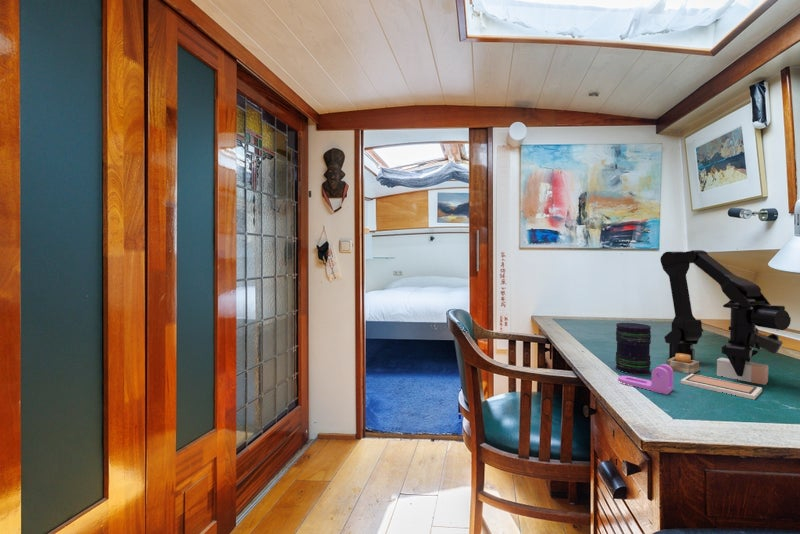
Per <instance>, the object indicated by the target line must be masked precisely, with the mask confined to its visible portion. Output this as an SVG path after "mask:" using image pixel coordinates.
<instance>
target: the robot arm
mask: <svg viewBox="0 0 800 534" xmlns="http://www.w3.org/2000/svg"><path fill="white" fill-rule="evenodd" d="M660 263H661V267H662V270H663V271H664V272H665V274H667V277H668V278H669V284H670V285H669V286H670V291H671V296H672V297H671V299H672V302H673V303H672V304H673V310H674V318H673V320H672V322H671V331H669V332H668V333H667V334H665V336H664V342H665V343H666V344H668V345H669V348H668V349H669V351H668V355H669V356H668V358H667V359H666V361H667V360H669V359H671V358H673V357H675V355H676V353H682V354H688V355H690V356H691V360H694V361H696V360H695V359H696V356H695V355H696V349H695V348H694V345H697V344H698V343H699V339H701V338H702V336H703V332H704V329H703V325H702V320H701V319H697V318H695V317H694V315H693V310H692V303H691V297H690V292H689V285H688V281H687V274H688V271H689V269H690V265H691V264H694V265H695V266H697V267H698V268H699V269H700V270H701V271H702V272H704V273H705V274H707V275H708V276H709V277H710V278H711V279H712V280H713V281H715V282H716V283H717V284H718V285H720V289H721V291H722V293H724V295H725V296H726V297H727V298H728V299H729V301H728V302H726V303H724V304H723V305H722V307H723V308H728V309H730V322H729V323H730V324H729V325H730V326H728V331H729V339H728V340H727V343H726V344H724V345H723V346H722V347H721V354H723V355H725V356H726V358H727V359H729V361H730V362H731V364H732V366H733V368H734V370H735V372H736V374H737V376H741V377H742V376H743V372H744V368H745V365H746V362H751V359H752V358H753V357H754V356H755V355H757V354H758V353H760V351H759V350H763V349H764V350H766V351H768V352H769V353H772V354H777V353H778V352H779V350H780V348H781V347H782V346H783V344H784V343H783V341H782V340H780V338H779V337H780V336H779V335H778V334H775V333H770V334H769V335H766V334H762V333H759V328H765V329H771V330H778V331H786V329H788V328H789V326H790V325H791V321H792V318H791V316H790V314H789V312H788V311H787V310H785V309H786V307H785V306H784V305H780V304H779V305H775V304H774V305H773V304H771V303H770V302H769V300H768V299H767V298H766V296H765V295H764V294H763V293H762V289H761V287H760V286H759V285H758V284H756V283H755V282H753V281H751V280H748V279H746V278H743V277H741V276H738V275H736V274H734V273H733V272H732V271H730V270H729V269H728V268H726V267H725V266H723V264H721V263H720V262H718V261H717V260H716V259H715V258H713V257H712V256H710V255H709V253H708V252H707V251H705V250H704V249H703V250H701V249H699V250H698V249H695V250H694V249H693V250H689V251H665V252H663V254H662V255H661V256H660ZM758 327H759V328H758ZM755 348H756V349H757V350H755Z"/></svg>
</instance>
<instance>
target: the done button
mask: <svg viewBox="0 0 800 534" xmlns="http://www.w3.org/2000/svg"><path fill="white" fill-rule="evenodd" d="M675 361H677V362H682V363H688V364H690V363H691V356H690V355H688V354H682V353H676V355H675Z"/></svg>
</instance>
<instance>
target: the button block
mask: <svg viewBox="0 0 800 534" xmlns="http://www.w3.org/2000/svg"><path fill="white" fill-rule="evenodd" d="M666 365H669V366H670V367H671V368H672V369H673V372H678V373H684V374H686V375H687V374H688V375H690V374H696V373H697V372H700V361H699V360H691V363H690V364H688V363H682V362H677V361H675V357H673V358H671V359H669V360H667V359H666Z"/></svg>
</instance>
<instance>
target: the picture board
mask: <svg viewBox="0 0 800 534" xmlns="http://www.w3.org/2000/svg"><path fill="white" fill-rule="evenodd" d="M680 384H681V385H686V386H690V387H695V388H700V389H703V390H709V391H713V392H717V393H722V392H723V393H722V394H726V393H727V394H728V395H731V394H732V396H735V395H736V396H735V397H740V398H744V399H750V400H754V401H755V400H756V398H757V397H759V395H761V393H762V392H763V387H761V386H755V385H750V384H746V383H740V382H736V381H730V380H726V379H720V378H715V377H709V376H705V375H701V374H696V373H694V374H688V375H687V376H685V377H683V378H682V379H680ZM727 394H726V395H727Z"/></svg>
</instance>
